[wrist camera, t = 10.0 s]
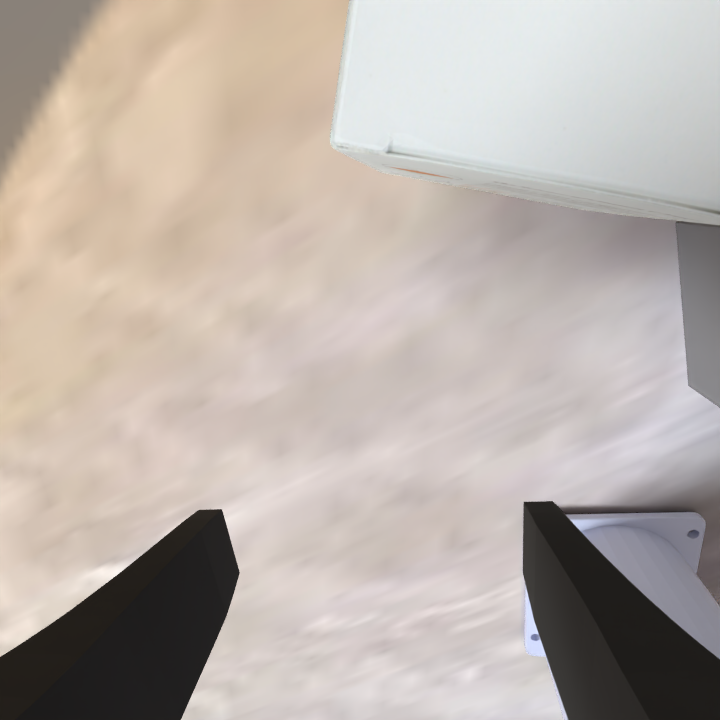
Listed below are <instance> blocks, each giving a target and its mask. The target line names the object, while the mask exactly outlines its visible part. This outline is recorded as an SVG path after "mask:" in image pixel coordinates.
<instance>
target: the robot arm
mask: <svg viewBox="0 0 720 720" xmlns="http://www.w3.org/2000/svg"><path fill="white" fill-rule="evenodd" d="M705 527H706V521H705V520H704V519H703V518H702V516H701V515H700V514H698V513H696V512H668V513H618V514H568V515H565V514H564V513H563V511H562V510H561V509H560V508H559V507H558V506H557V505H556V504H555V503H554V502H553V501H547V502H524V526H523V575H524V579H525V632H524V645H525V649H526V652H527V653H528V654H530V655H532V656H546V659H547V662H548V666H549V669H550V673H551V676H552V680H553V683H554V687H555V690H556V694H557V697H558V701H559V704H560V708H561V711H562V715H563V718H564V720H720V606H719V604H718V603H717V602H716V600H715V599H714V598H713V596H712V595H711V594H710V592H709V591H708V590H707V588H706V587H705V586H704V584H703V583H702V581H701V580H700V579H699V577H698V576H697V570H698V564H699V559H700V554H701V548H702V543H703V538H704V533H705ZM691 530H693V531H692V532H689V531H691ZM688 532H689V533H688ZM238 577H239V569H238V565H237V562H236V558H235V555H234V551H233V547H232V544H231V540H230V537H229V533H228V529H227V526H226V522H225V519H224V515H223V512H222V509H217V510H198V511H197V512H196V513H194V514H193V515H191V516H190V517H189V518H188V519H186V520H185V521H184V522H182V523H181V524H180V525H179V526H177V527H176V528H175V529H174V530H172V531H171V532H170V533H169V534H168V535H166V536H165V537H164V538H163V539H161V540H160V541H159V542H158V543H157V544H155V545H154V546H153V547H152V548H150V549H149V550H148V551H147V552H145V553H144V554H143V555H142V556H140V557H139V558H138V559H137V560H136V561H134V562H133V563H132V564H131V565H129V566H128V567H127V568H126V569H124V570H123V571H122V572H121V573H119V574H118V575H117V576H115V577H114V578H113V579H111V580H110V581H109V582H107V583H106V584H105V585H103V586H102V587H101V588H100V589H98V590H97V591H96V592H94V593H93V594H92V595H90V596H89V597H88V598H86V599H85V600H84V601H82V602H81V603H80V604H78V605H77V606H76V607H74V608H73V609H72V610H70V611H69V612H67V613H66V614H65V615H63V616H62V617H60V618H59V619H57V620H56V621H55V622H53V623H52V624H50V625H49V626H47V627H46V628H44V629H43V630H41V631H40V632H38V633H37V634H35V635H34V636H32V637H31V638H29V639H28V640H26V641H25V642H23V643H22V644H20V645H19V646H17V647H15V648H14V649H12V650H11V651H9V652H8V653H6V654H4V655H3V656H1V657H0V720H181V718H182V716H183V713H184V711H185V709H186V707H187V704H188V702H189V700H190V698H191V695H192V693H193V691H194V689H195V686H196V684H197V682H198V680H199V677H200V675H201V673H202V671H203V668H204V666H205V664H206V662H207V659H208V657H209V655H210V653H211V650H212V648H213V646H214V644H215V641H216V639H217V637H218V634H219V632H220V630H221V627H222V625H223V623H224V620H225V618H226V616H227V613H228V609H229V606H230V603H231V600H232V597H233V594H234V590H235V587H236V583H237V580H238Z"/></svg>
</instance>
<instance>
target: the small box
mask: <svg viewBox="0 0 720 720" xmlns="http://www.w3.org/2000/svg"><path fill="white" fill-rule="evenodd" d="M330 142H331V146H332V147H333V148H334V149H335V150H337V151H339V152H341V153H343V154H344V155H346V156H348V157H350V158H353V159H355V160H356V161H358V162H361V163H363V164H365V165H367V166H369V167H371V168H373V169H375V170H377V171H379V172H381V173H385V174H391V175H397V176H402V177H408V178H413V179H418V180H424V181H429V182H435V183H440V184H446V185H451V186H457V187H462V188H467V189H473V190H478V191H483V192H489V193H494V194H499V195H504V196H510V197H515V198H520V199H525V200H531V201H536V202H542V203H547V204H553V205H558V206H563V207H569V208H574V209H580V210H587V211H594V212H602V213H611V214H619V215H627V216H635V217H645V218H653V219H664V220H675V221H684V222H693V223H703V224H712V225H720V0H349V6H348V13H347V20H346V27H345V34H344V41H343V48H342V55H341V62H340V69H339V76H338V83H337V90H336V98H335V105H334V112H333V119H332V126H331V133H330Z"/></svg>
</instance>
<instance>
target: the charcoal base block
mask: <svg viewBox="0 0 720 720" xmlns="http://www.w3.org/2000/svg"><path fill="white" fill-rule="evenodd" d="M676 233H677V245H678V258H679V271H680V284H681V297H682V310H683V323H684V335H685V348H686V361H687V374H688V386H690V387H691V388H692V389H694V390H695V391H697V392H698V393H700V394H701V395H703V396H704V397H705V398H707V399H708V400H710V401H711V402H713V403H714V404H715V405H717V406H718V407H720V225H712V224H703V223H693V222H684V221H681V222H677V223H676Z"/></svg>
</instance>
